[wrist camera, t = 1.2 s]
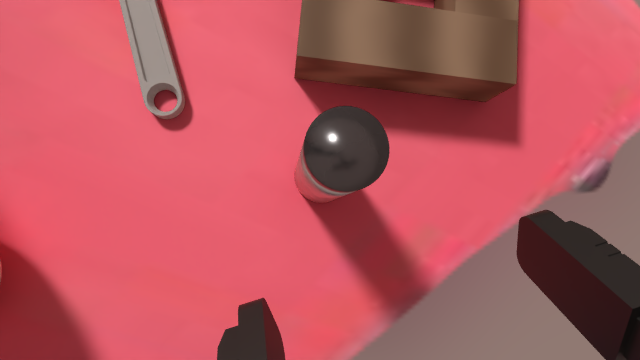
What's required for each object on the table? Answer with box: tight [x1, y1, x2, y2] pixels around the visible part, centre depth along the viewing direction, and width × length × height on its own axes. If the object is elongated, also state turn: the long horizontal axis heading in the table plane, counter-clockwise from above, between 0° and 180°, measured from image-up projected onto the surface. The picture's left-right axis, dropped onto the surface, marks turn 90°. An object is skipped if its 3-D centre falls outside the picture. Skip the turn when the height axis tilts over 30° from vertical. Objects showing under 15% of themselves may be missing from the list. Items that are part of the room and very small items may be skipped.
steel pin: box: [294, 106, 389, 203], centre depth 23 cm, size 4×4×11 cm
